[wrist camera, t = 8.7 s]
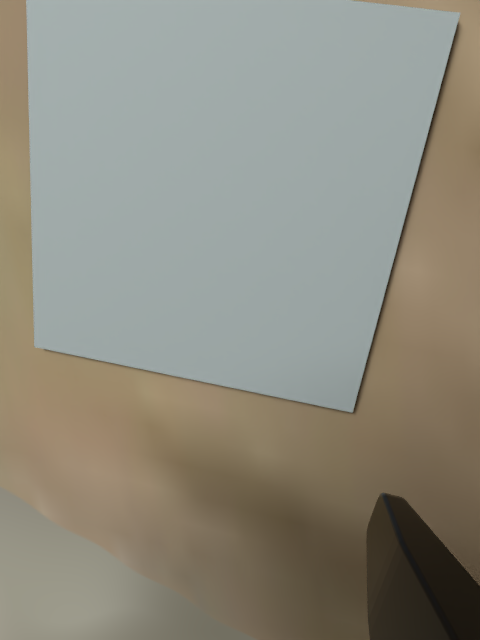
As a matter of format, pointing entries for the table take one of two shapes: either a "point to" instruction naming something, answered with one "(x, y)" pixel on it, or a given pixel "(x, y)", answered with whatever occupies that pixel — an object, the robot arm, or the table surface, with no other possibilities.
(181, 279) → the mat
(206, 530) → the table surface
